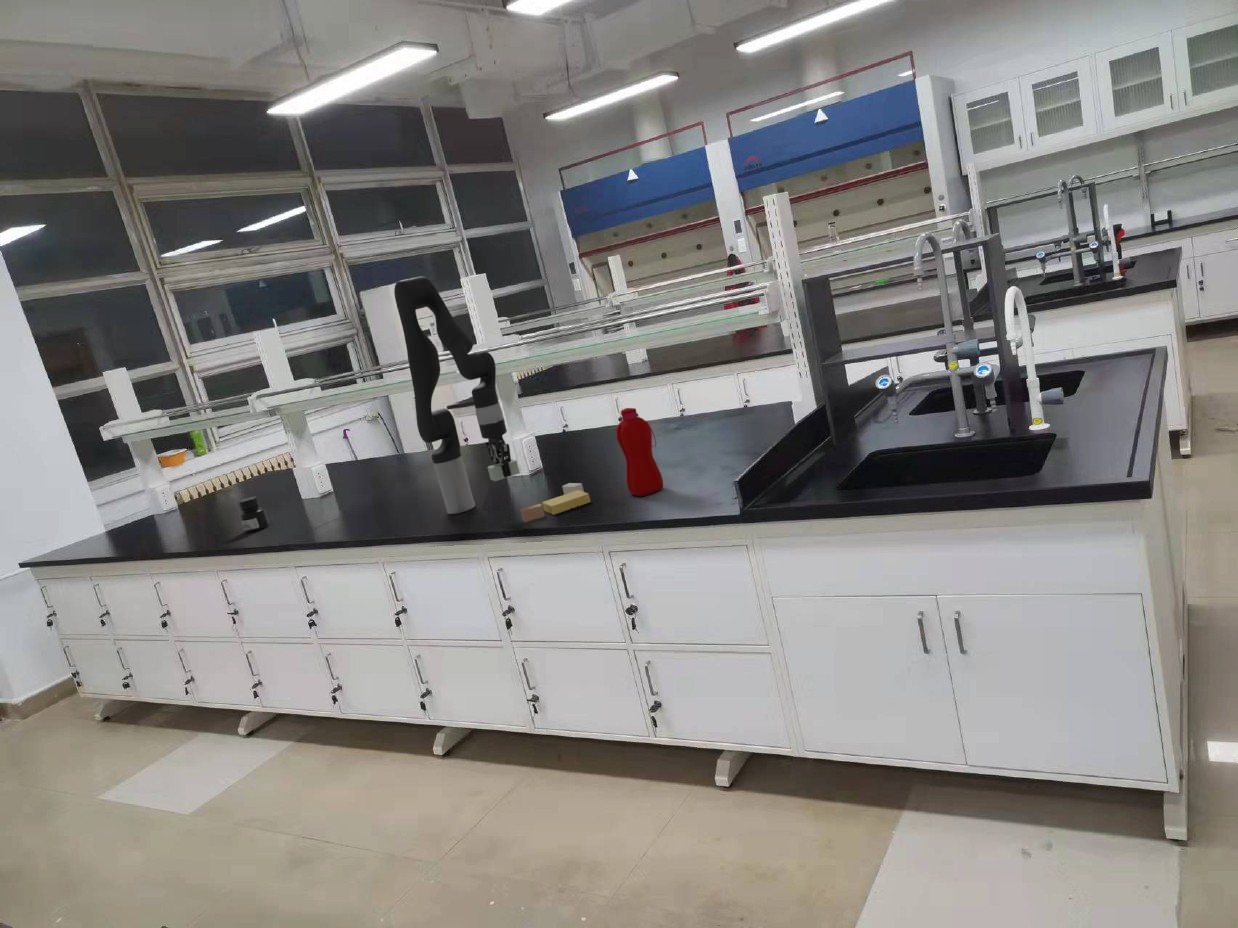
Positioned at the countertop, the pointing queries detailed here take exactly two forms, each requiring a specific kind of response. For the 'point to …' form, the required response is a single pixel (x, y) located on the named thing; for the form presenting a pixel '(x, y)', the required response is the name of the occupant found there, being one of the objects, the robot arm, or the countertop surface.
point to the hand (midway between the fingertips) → (504, 475)
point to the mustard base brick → (566, 502)
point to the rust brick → (532, 512)
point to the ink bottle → (252, 514)
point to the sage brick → (497, 472)
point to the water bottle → (638, 454)
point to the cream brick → (572, 487)
